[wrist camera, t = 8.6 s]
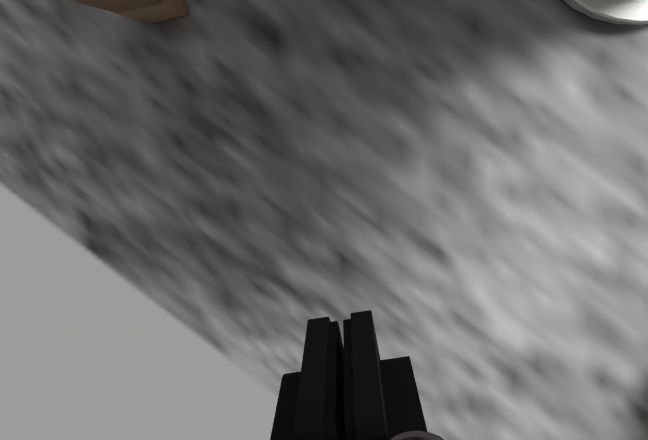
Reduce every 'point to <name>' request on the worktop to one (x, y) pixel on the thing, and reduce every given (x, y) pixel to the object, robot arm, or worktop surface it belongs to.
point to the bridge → (143, 8)
